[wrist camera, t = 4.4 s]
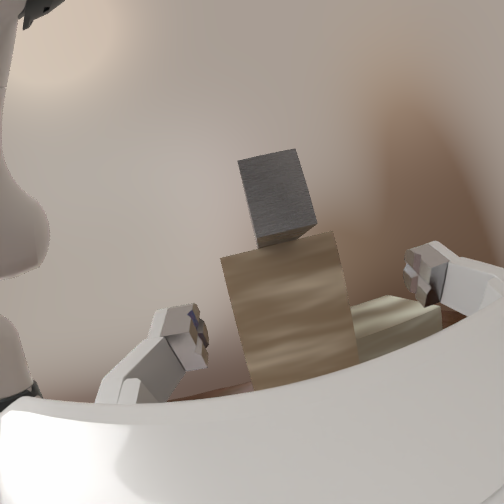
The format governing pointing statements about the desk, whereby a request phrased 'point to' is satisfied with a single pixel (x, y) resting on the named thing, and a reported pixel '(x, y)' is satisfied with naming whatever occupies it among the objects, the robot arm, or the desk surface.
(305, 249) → the stepped stand
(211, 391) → the desk surface
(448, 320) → the desk surface
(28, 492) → the robot arm
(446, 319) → the desk surface
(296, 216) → the bar
